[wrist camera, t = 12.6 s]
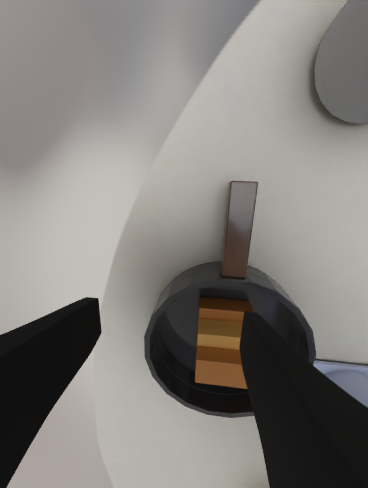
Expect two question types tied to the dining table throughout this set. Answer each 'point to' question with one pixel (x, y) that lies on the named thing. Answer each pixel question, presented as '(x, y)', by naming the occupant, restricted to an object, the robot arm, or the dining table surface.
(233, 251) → the pan handle
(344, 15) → the can
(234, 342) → the tiered wooden ziggurat
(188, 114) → the dining table surface
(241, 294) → the pan
